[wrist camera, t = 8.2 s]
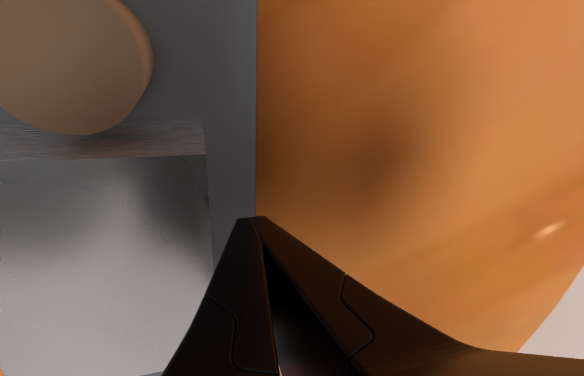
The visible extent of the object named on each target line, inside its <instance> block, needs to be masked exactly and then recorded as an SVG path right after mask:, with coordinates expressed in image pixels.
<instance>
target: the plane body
mask: <svg viewBox="0 0 584 376" xmlns="http://www.w3.org/2000/svg"><path fill="white" fill-rule="evenodd" d="M256 43H257V0H0V122H25V123H27V124H30V125H32V126H34V127H36V128H39V129H42V130H45V131H49V132H53V133H57V134H65V135H88V134H93V133H98V132H101V131H104V130H107V129H109V128H111V127H113V126H115V125H116V124H118V123H119V122H121V121H122V120H184V119H202V125H203V134H204V143H205V152H206V166H207V181H208V195H209V210H210V225H211V239H212V254H213V269H214V271H215V268H216V266H217V264H218V261H219V259H220V257H221V254H222V252H223V250H224V247H225V245H226V243H227V240H228V238H229V236H230V233H231V231H232V229H233V226H234V224H235V222H236V220H237V219H238V218H244V217H255V195H256ZM162 373H163V371H160V372H156V373H151V374H146V375H142V376H161V374H162Z"/></svg>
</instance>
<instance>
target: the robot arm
mask: <svg viewBox="0 0 584 376" xmlns="http://www.w3.org/2000/svg"><path fill="white" fill-rule="evenodd" d="M278 363H279V365H278ZM279 366H280V370H281V373H282V376H584V359H574V358H564V357H553V356H543V355H534V354H523V353H513V352H503V351H493V350H486V349H481V348H477V347H473V346H470V345H467V344H464V343H462V342H460V341H457V340H455V339H453V338H451V337H450V336H448V335H446V334H444V333H442V332H441V331H439V330H437V329H435V328H434V327H432V326H430V325H429V324H427V323H425V322H423V321H422V320H420V319H418V318H416V317H415V316H413V315H411V314H409V313H408V312H406V311H404V310H403V309H401V308H399V307H397V306H396V305H394V304H392V303H391V302H389V301H387V300H386V299H384V298H382V297H381V296H379V295H377V294H376V293H374V292H373V291H371V290H370V289H368V288H367V287H365V286H364V285H362V284H361V283H359V282H358V281H356V280H355V279H353V278H352V277H351V276H349V275H348V274H347V275H346V274H345V272H343V271H342V270H341V269H339V268H338V267H336V266H335V265H333V264H332V263H331V262H329V261H328V260H326V259H325V258H323V257H322V256H321V255H319V254H318V253H316V252H315V251H313V250H312V249H311V248H309V247H308V246H306V245H305V244H304V243H302V242H301V241H299V240H298V239H296V238H295V237H294V236H292V235H291V234H289V233H288V232H286V231H285V230H284V229H282V228H281V227H279V226H278V225H277V224H275V223H274V222H272V221H271V220H269V219H268V218H267V217H265V216H255V217H244V218H238V219H237V220H236V222H235V224H234V226H233V229H232V231H231V233H230V236H229V238H228V240H227V243H226V245H225V247H224V250H223V252H222V254H221V257H220V259H219V261H218V264H217V266H216V268H215V271H214V273H213V275H212V278H211V280H210V283H209V285H208V287H207V290H206V292H205V294H204V297H203V298H202V301H201V303H200V305H199V308H198V310H197V312H196V314H195V316H194V318H193V321H192V323H191V325H190V327H189V329H188V331H187V332H186V334H185V336H184V338H183V339H182V341H181V343H180V345H179V346H178V348H177V350H176V352H175V353H174V355H173V356H172V358H171V360H170V361H169V363H168V365H167V366H166V368H165V370H164V371H163V373H162V374H161V376H280V373H279Z"/></svg>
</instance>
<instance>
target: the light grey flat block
mask: <svg viewBox="0 0 584 376" xmlns="http://www.w3.org/2000/svg"><path fill="white" fill-rule="evenodd" d="M213 273H214V269H213V254H212V239H211V225H210V210H209V195H208V181H207V166H206V152H205V143H204V134H203V125H202V119H184V120H122V121H121V122H119V123H118V124H116V125H115V126H113V127H111V128H109V129H107V130H104V131H101V132H98V133H93V134H88V135H65V134H57V133H53V132H49V131H45V130H42V129H39V128H36V127H34V126H32V125H30V124H27V123H25V122H0V368H1V370H2V372H3V373H4V375H5V376H142V375H146V374H151V373H156V372H160V371H164V370H165V368H166V366H167V365H168V363H169V361H170V360H171V358H172V356H173V355H174V353H175V352H176V350H177V348H178V346H179V345H180V343H181V341H182V339H183V338H184V336H185V334H186V332H187V331H188V329H189V327H190V325H191V323H192V321H193V318H194V316H195V314H196V312H197V310H198V308H199V305H200V303H201V301H202V298H203V297H204V294H205V292H206V290H207V287H208V285H209V283H210V280H211V278H212V275H213Z"/></svg>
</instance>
